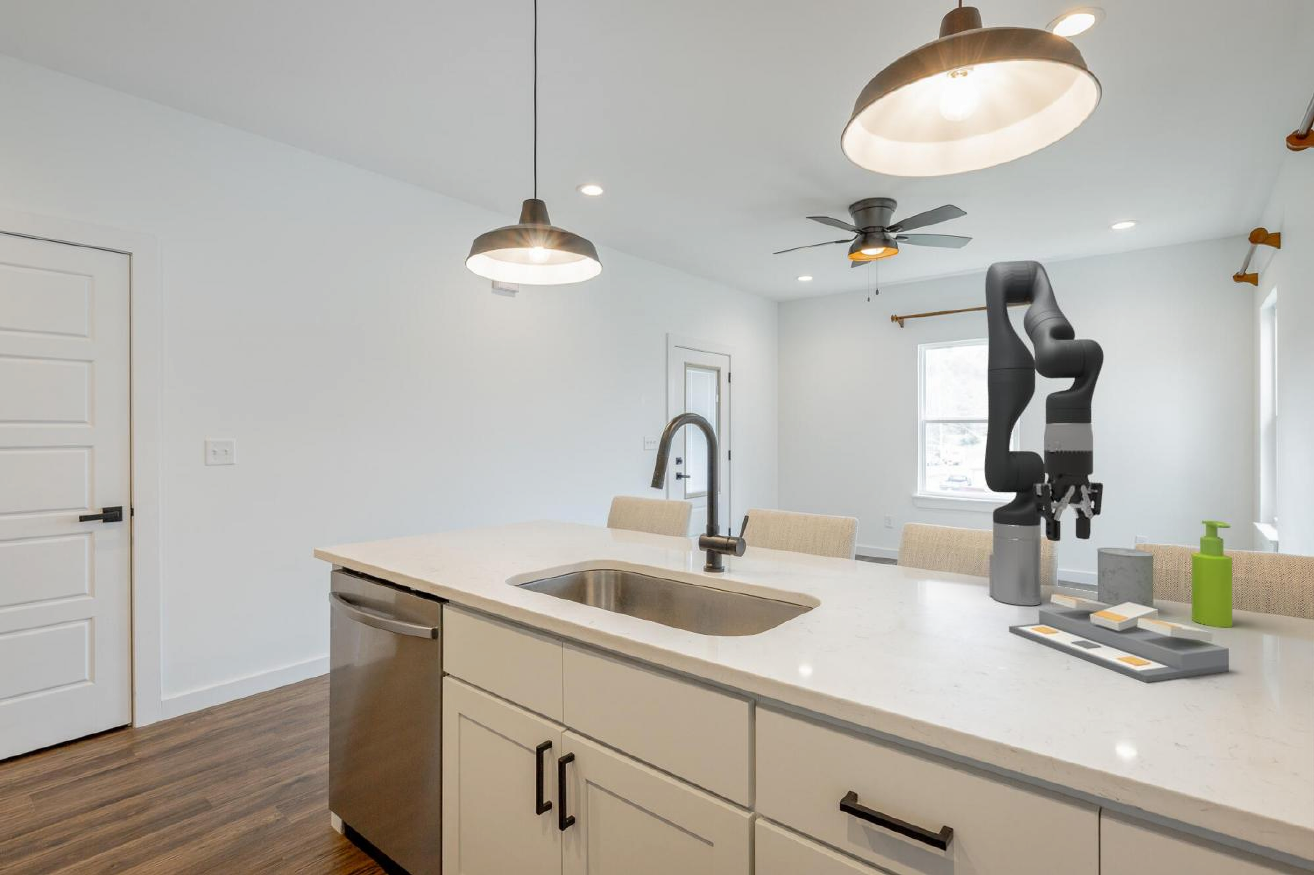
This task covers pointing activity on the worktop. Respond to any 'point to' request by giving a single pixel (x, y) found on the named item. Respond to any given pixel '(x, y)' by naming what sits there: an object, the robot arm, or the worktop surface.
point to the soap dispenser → (1212, 580)
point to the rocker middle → (1123, 616)
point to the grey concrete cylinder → (1125, 576)
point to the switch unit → (1125, 646)
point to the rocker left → (1079, 603)
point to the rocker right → (1174, 629)
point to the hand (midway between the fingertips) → (1068, 539)
